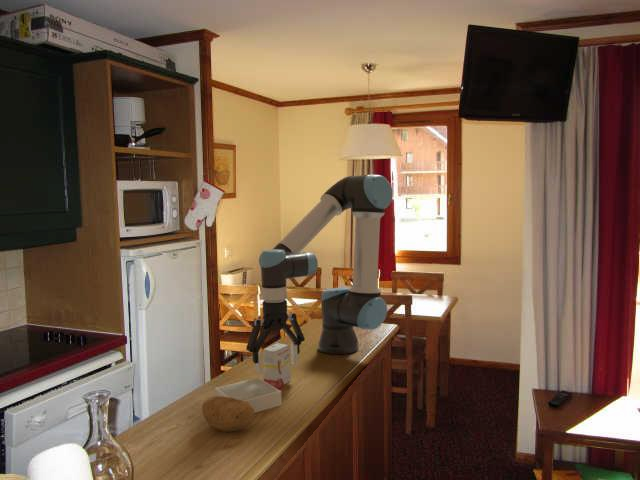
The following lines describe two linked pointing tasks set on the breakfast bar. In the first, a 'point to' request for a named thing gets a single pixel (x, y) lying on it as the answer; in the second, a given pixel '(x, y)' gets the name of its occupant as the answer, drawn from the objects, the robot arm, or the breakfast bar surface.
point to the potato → (227, 413)
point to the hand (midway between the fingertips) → (277, 368)
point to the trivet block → (252, 393)
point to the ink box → (277, 365)
